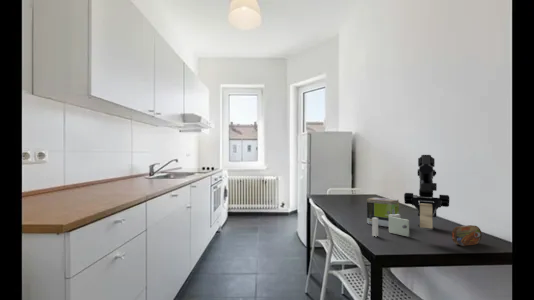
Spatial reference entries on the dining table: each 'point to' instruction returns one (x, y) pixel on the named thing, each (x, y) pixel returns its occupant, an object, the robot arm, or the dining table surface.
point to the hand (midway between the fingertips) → (426, 214)
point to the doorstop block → (425, 216)
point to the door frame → (375, 224)
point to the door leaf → (399, 226)
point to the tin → (466, 235)
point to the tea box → (381, 210)
